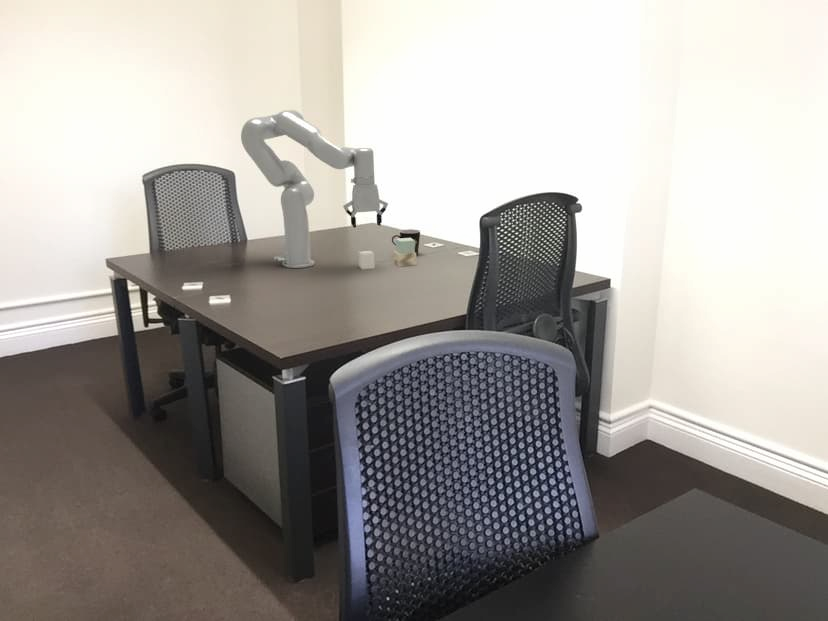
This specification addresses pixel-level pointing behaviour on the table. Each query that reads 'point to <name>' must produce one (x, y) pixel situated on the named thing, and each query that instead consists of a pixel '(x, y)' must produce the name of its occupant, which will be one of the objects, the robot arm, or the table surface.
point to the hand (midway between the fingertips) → (366, 226)
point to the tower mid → (405, 245)
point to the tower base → (405, 259)
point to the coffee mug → (410, 234)
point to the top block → (366, 260)
